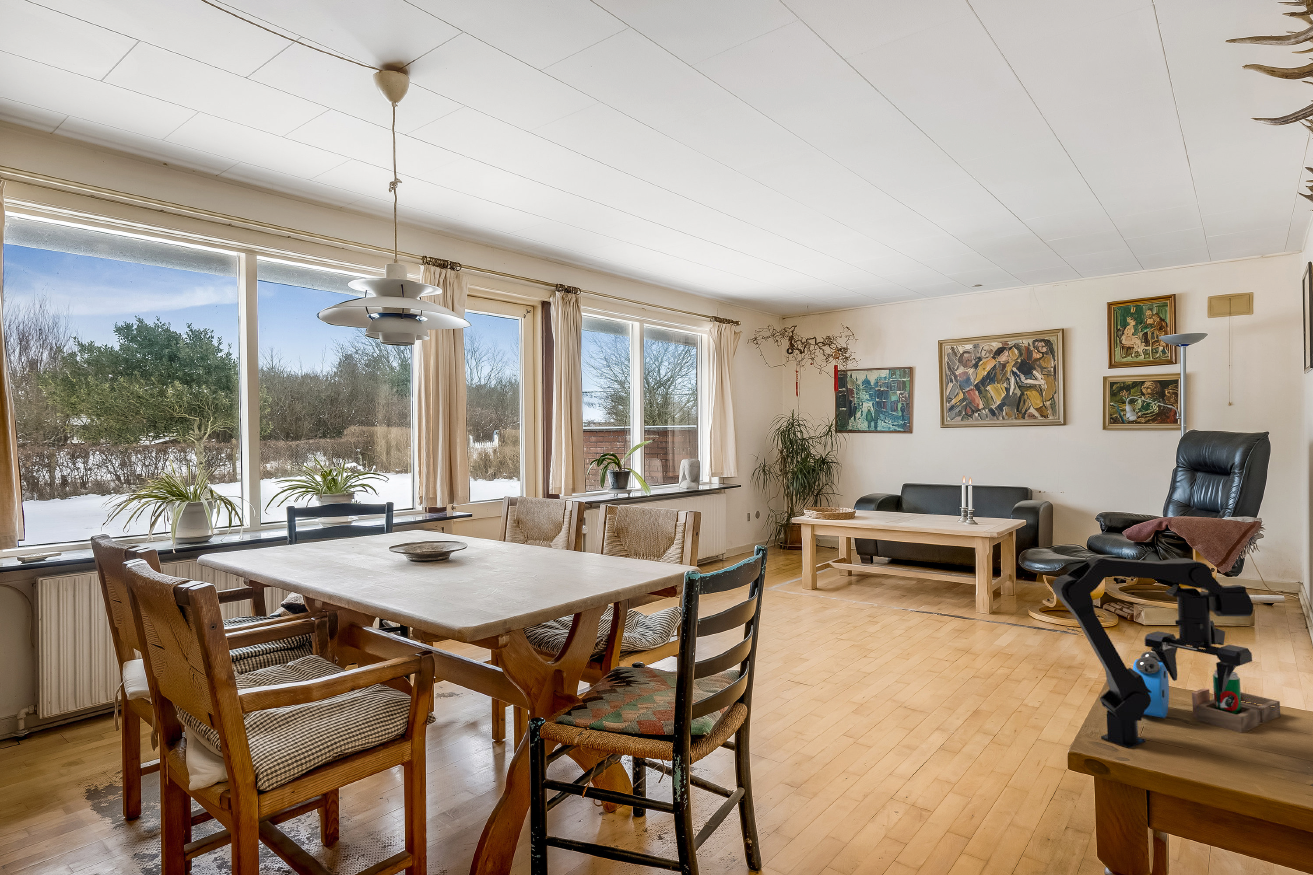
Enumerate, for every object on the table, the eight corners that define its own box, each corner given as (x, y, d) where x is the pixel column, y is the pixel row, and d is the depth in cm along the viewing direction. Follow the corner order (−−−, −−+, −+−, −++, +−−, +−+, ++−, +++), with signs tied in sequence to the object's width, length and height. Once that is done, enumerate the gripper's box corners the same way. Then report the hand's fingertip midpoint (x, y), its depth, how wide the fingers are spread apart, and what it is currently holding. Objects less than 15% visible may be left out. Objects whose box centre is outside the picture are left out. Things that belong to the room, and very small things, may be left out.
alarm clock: (1142, 704, 181) (1139, 646, 181) (1171, 709, 176) (1168, 650, 177) (1132, 720, 171) (1129, 658, 171) (1163, 726, 167) (1160, 662, 167)
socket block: (1241, 732, 162) (1240, 706, 162) (1189, 718, 171) (1188, 693, 171) (1280, 715, 170) (1279, 690, 170) (1229, 702, 180) (1228, 679, 180)
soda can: (1248, 725, 165) (1245, 674, 165) (1228, 727, 165) (1225, 676, 165) (1228, 717, 170) (1225, 668, 170) (1209, 719, 170) (1207, 669, 170)
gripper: (1262, 618, 152) (1266, 690, 152) (1167, 603, 169) (1171, 668, 169) (1236, 626, 147) (1241, 700, 147) (1141, 610, 164) (1145, 677, 163)
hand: (1197, 685), depth 157 cm, fingers open, 9 cm apart
